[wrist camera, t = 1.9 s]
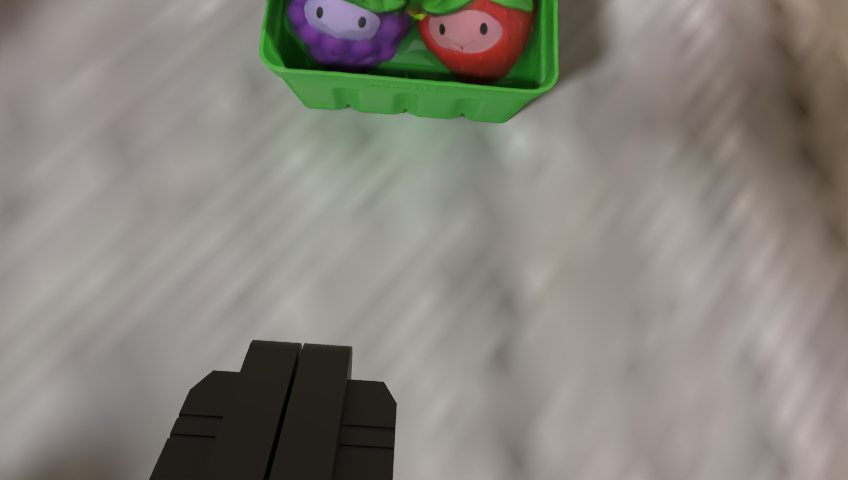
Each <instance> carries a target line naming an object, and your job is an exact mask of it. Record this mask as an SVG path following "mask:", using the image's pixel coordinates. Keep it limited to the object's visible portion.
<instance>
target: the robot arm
mask: <svg viewBox="0 0 848 480" xmlns="http://www.w3.org/2000/svg"><path fill="white" fill-rule="evenodd" d="M351 371H352V347H351V346H336V345H322V344H308V343H305V344H304V346H303V349H302V345H301V343H291V342H276V341H262V340H252V342H251V344H250V346H249V349H248V352H247V354H246V357H245V360H244V362H243V365H242V368H241V370H240V372H228V371H214V370H213V371H212V372H211V373H210V374H209V375H207V376H206V377H205V378H204V379H202V380H201V381H200V382H199V383H198V384H196V385H195V386H194V387H193V388H192V389H190V391H189V393H188V395H187V397H186V400H185V402H184V404H183V406H182V408H181V411H180V413H179V418H177V419H176V422H175V424H174V426H173V428H172V430H171V433H170V438H168V439H167V441H166V443H165V446H164V448H163V450H162V452H161V454H160V457H159V459H158V461H157V463H156V465H155V468H154V470H153V472H152V474H151V476H150V479H149V480H393V463H394V444H395V425H396V406H397V403H396V402H395V400H394V398H393V397H392V395H391V393H390V392H389V390H388V388H387V387H386V385H385V383H384V382H378V381H363V380H351Z"/></svg>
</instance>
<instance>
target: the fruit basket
mask: <svg viewBox="0 0 848 480" xmlns="http://www.w3.org/2000/svg"><path fill="white" fill-rule="evenodd" d="M259 55H260V58H261V60H262V61H263V63H264V64H265V65H266V66H267V67H268V68H269V69H270V70H272V71H273V72H274V73H275V74H276V75H277V76H279V77H281V78H283V80H284V81H285V82H286V83H287V84H288V86H289V87H290V88H291V89H292V90H293V92H294V93H295V94H296V95H297V97H298V98H299V99H300V100H301V102H302V103H303V104H304V105H305V106H306V107H308V108H315V109H328V110H339V109H345V108H348V107H351V108H352V109H355V110H358V111H360V112H367V113H379V114H398V113H404V112H405V111H407V112H408V113H409V114H413V115H415V116H418V117H429V118H442V119H452V118H458V117H461V116H464V117H465V118H468V119H471V120H473V121H481V122H493V123H504V122H506V121H507V120H508V119H510V118H511V117H512V116H513V115H514V114H516V113H517V112H518V111H519V110H520V109H521V108H522V107H524V106H525V105H526V104H527V103H528V102H529V101H530V100H532V99H534V98H537V97H539V96H540V95H542V94H544V93H545V92H547V91H548V90H550V89H551V88H552V87H553V86H554V85H555V84H556V82H557V80H558V76H559V54H558V0H266V7H265V14H264V19H263V24H262V31H261V39H260V48H259Z"/></svg>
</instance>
